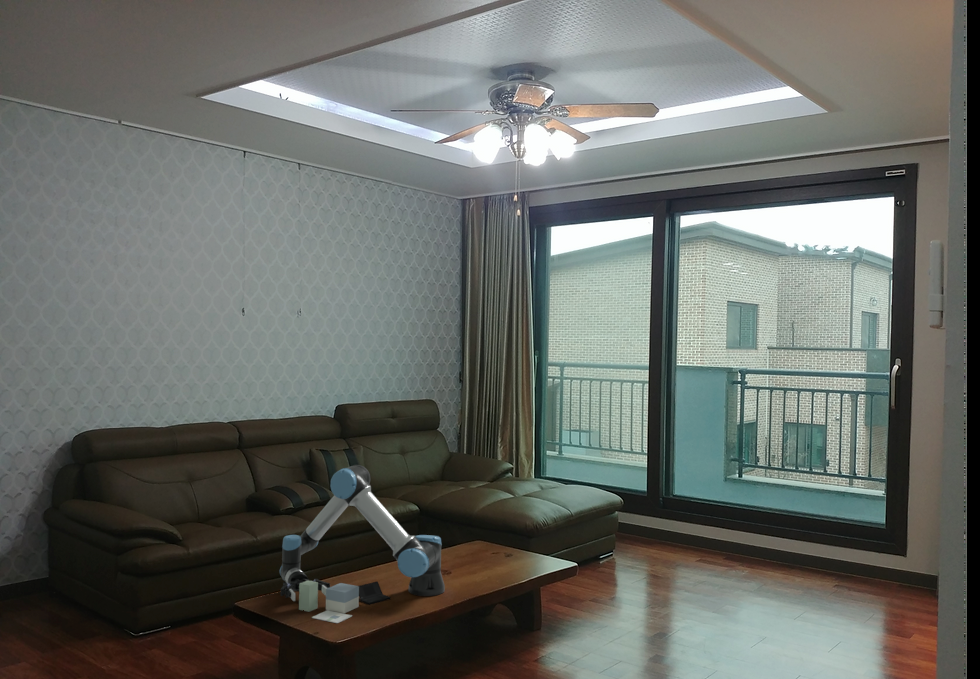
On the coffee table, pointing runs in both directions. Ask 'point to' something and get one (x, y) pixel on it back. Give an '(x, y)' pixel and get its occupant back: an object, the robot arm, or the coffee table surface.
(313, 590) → the top brick
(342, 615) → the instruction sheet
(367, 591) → the handheld gaming console
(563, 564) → the coffee table surface
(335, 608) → the tower base
